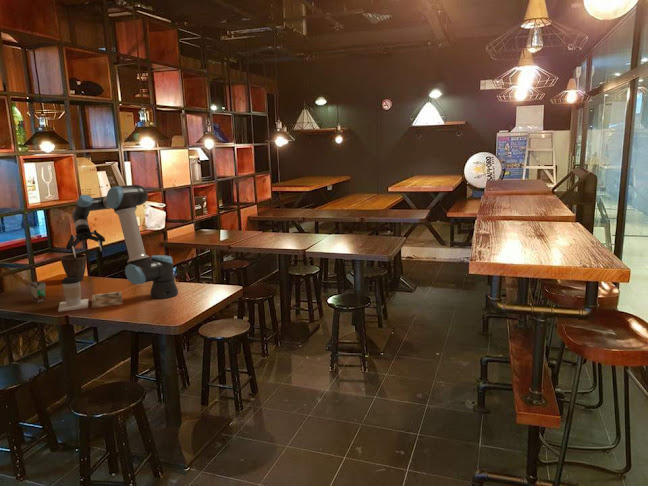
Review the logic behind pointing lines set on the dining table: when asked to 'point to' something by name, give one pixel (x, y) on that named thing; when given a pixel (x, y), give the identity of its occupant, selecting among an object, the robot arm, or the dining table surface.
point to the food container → (38, 291)
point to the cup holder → (106, 302)
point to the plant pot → (74, 265)
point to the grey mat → (64, 306)
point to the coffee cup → (72, 290)
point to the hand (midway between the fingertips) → (88, 252)
